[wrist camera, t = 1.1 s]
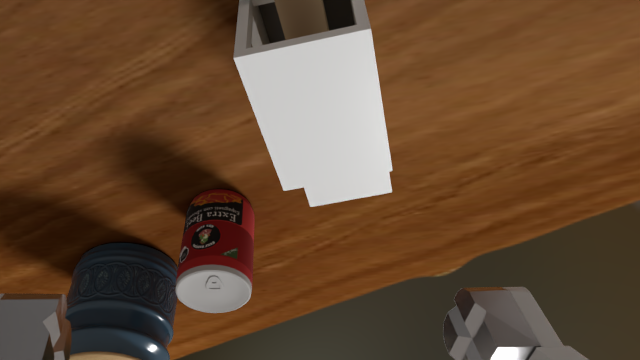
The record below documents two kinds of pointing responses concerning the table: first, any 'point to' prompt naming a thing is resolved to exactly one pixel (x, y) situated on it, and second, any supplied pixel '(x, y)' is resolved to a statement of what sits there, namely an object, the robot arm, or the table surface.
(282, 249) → the table surface
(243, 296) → the canned food
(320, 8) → the stick
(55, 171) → the table surface
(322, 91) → the tunnel deck
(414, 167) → the table surface
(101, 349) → the canister
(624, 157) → the table surface
